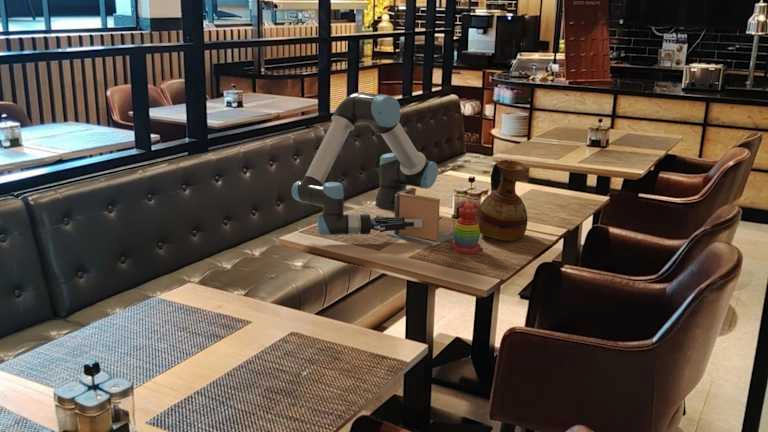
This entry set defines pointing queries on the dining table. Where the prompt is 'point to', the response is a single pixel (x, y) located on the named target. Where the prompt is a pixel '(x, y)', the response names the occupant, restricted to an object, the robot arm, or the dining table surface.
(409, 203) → the tan square panel
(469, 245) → the stacking bear
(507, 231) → the ceramic pitcher
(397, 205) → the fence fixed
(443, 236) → the card
